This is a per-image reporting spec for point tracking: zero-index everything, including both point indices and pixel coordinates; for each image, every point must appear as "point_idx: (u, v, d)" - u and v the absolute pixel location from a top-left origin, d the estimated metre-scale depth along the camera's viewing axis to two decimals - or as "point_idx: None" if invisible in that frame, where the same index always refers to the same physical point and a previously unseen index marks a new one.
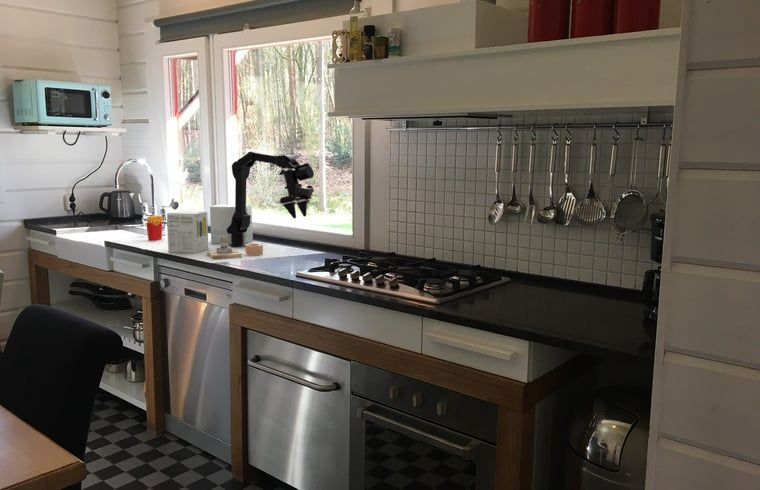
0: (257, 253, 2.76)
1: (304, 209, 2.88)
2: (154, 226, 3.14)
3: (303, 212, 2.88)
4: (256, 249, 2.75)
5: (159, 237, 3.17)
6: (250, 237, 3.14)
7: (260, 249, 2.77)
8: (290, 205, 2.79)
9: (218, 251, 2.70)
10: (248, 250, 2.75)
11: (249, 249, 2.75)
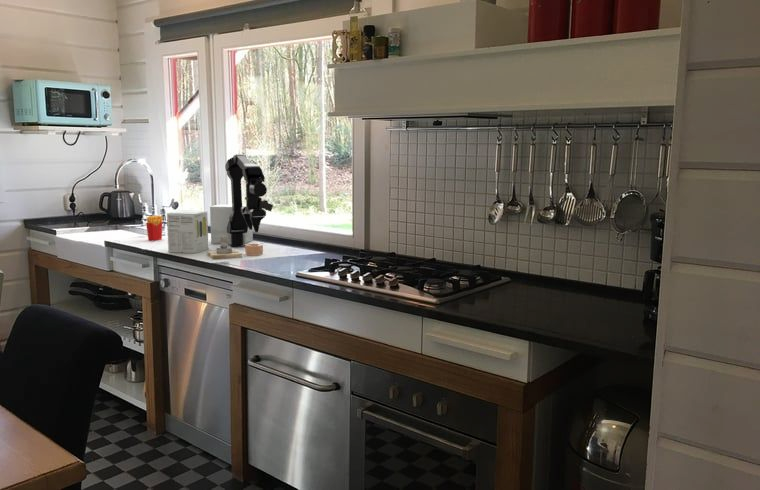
0: (257, 253, 2.76)
1: (251, 222, 2.81)
2: (154, 226, 3.14)
3: (250, 225, 2.81)
4: (256, 249, 2.75)
5: (159, 237, 3.17)
6: (250, 237, 3.14)
7: (260, 249, 2.77)
8: (256, 218, 2.71)
9: (218, 251, 2.70)
10: (248, 250, 2.75)
11: (249, 249, 2.75)
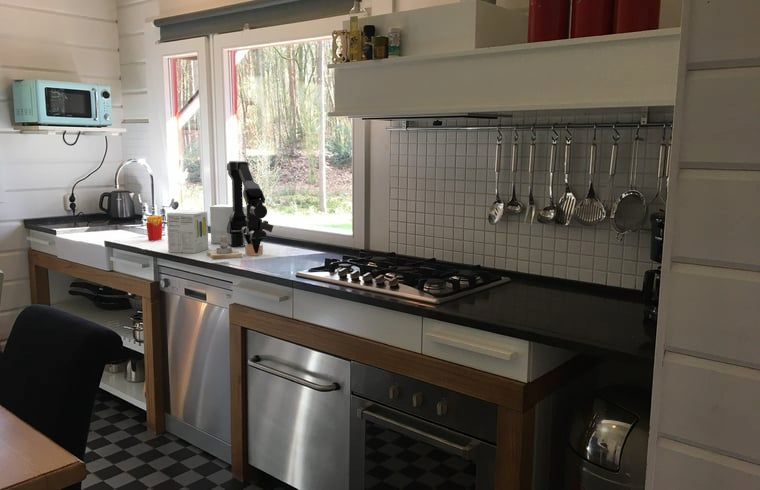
0: (257, 253, 2.76)
1: None
2: (154, 226, 3.14)
3: None
4: None
5: (159, 237, 3.17)
6: None
7: (260, 249, 2.77)
8: (256, 239, 2.73)
9: (218, 251, 2.70)
10: (248, 250, 2.75)
11: (249, 249, 2.75)
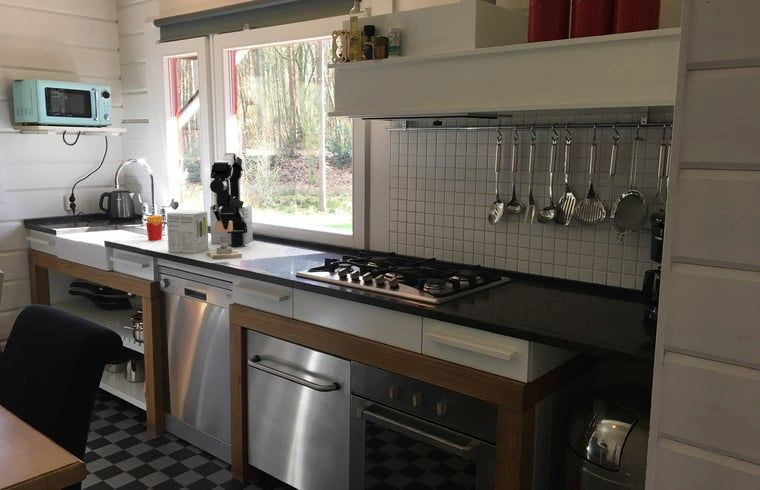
0: (227, 230, 2.68)
1: None
2: (154, 226, 3.14)
3: None
4: None
5: (159, 237, 3.17)
6: (250, 237, 3.14)
7: (230, 226, 2.69)
8: (225, 215, 2.66)
9: (218, 251, 2.70)
10: (217, 227, 2.68)
11: (218, 225, 2.68)
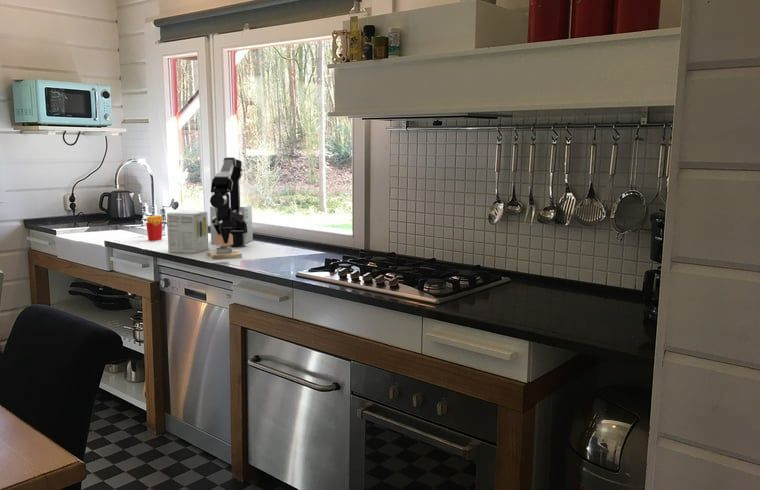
0: (227, 243, 2.69)
1: None
2: (154, 226, 3.14)
3: None
4: None
5: (159, 237, 3.17)
6: (250, 237, 3.14)
7: (230, 239, 2.70)
8: (226, 229, 2.67)
9: (218, 251, 2.70)
10: (217, 240, 2.69)
11: (218, 239, 2.69)
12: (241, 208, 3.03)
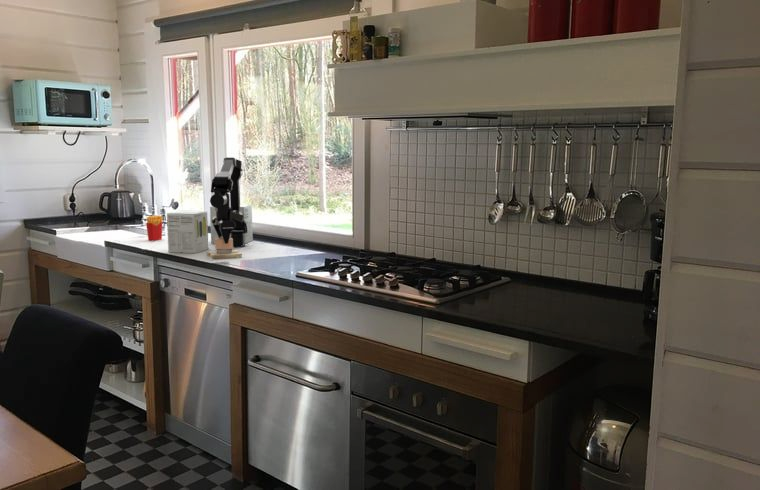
0: (227, 247, 2.69)
1: None
2: (154, 226, 3.14)
3: (220, 236, 2.76)
4: None
5: (159, 237, 3.17)
6: (250, 237, 3.14)
7: (230, 243, 2.70)
8: (226, 230, 2.66)
9: (218, 251, 2.70)
10: (217, 244, 2.69)
11: (218, 242, 2.69)
12: (241, 208, 3.03)
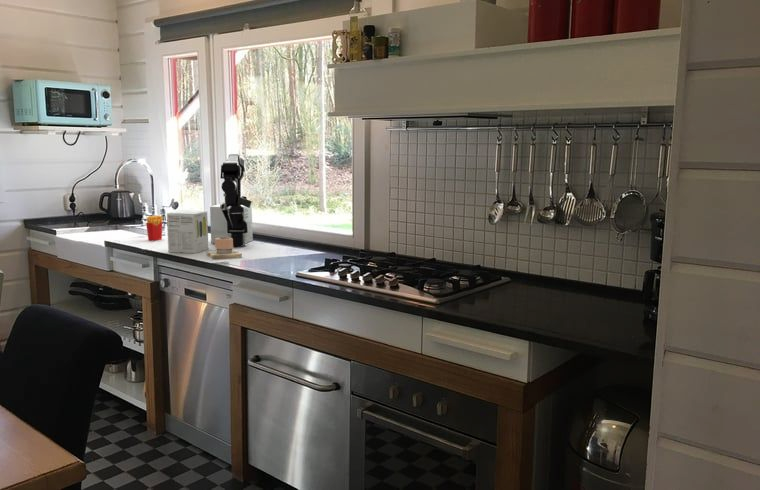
0: (227, 247, 2.69)
1: None
2: (154, 226, 3.14)
3: (229, 221, 2.82)
4: (226, 243, 2.69)
5: (159, 237, 3.17)
6: (250, 237, 3.14)
7: (230, 243, 2.70)
8: (234, 215, 2.72)
9: (218, 251, 2.70)
10: (217, 244, 2.69)
11: (218, 242, 2.69)
12: None
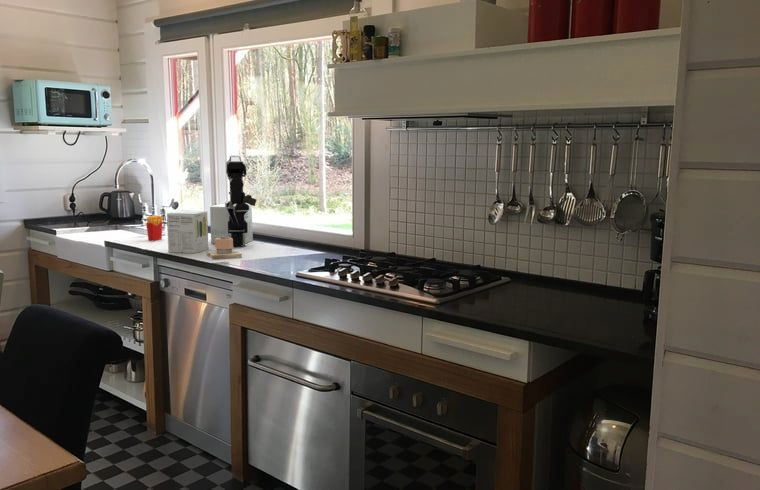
0: (227, 247, 2.69)
1: (235, 217, 2.86)
2: (154, 226, 3.14)
3: (234, 219, 2.85)
4: (226, 243, 2.69)
5: (159, 237, 3.17)
6: (250, 237, 3.14)
7: (230, 243, 2.70)
8: (240, 213, 2.76)
9: (218, 251, 2.70)
10: (217, 244, 2.69)
11: (218, 242, 2.69)
12: None
